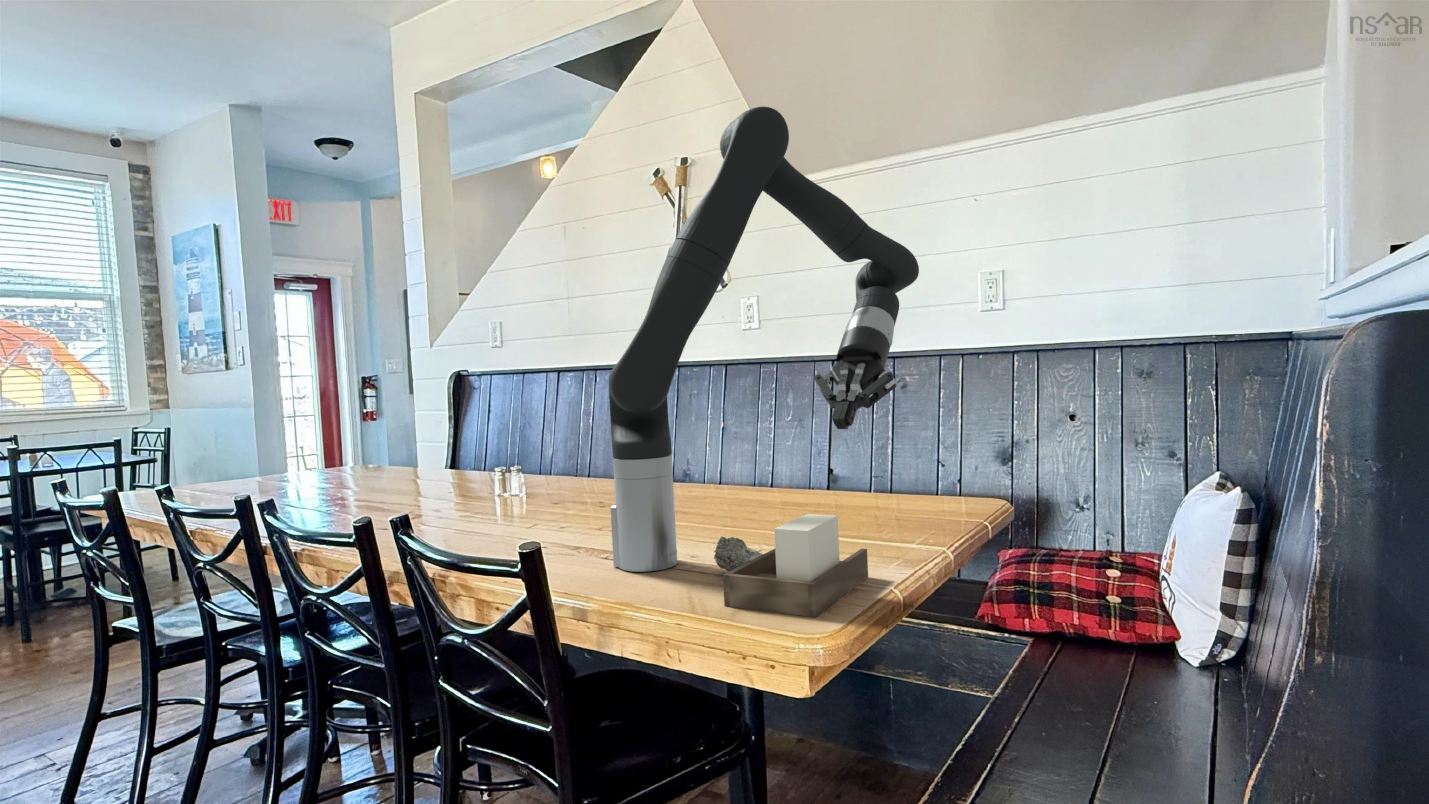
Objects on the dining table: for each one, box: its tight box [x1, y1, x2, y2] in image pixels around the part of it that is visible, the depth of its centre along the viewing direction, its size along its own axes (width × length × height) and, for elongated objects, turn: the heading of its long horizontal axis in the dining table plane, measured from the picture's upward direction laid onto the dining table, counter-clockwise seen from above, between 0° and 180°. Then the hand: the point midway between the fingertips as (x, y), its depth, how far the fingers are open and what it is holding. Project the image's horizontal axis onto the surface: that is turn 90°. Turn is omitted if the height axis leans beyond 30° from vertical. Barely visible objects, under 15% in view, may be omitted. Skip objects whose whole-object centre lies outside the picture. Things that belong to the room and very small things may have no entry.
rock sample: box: [713, 535, 764, 573], centre depth 114 cm, size 10×8×9 cm
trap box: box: [722, 548, 869, 618], centre depth 103 cm, size 12×19×4 cm, turn 150°
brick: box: [774, 513, 841, 582], centre depth 99 cm, size 4×10×8 cm, turn 150°
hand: (840, 425), depth 111 cm, fingers closed
